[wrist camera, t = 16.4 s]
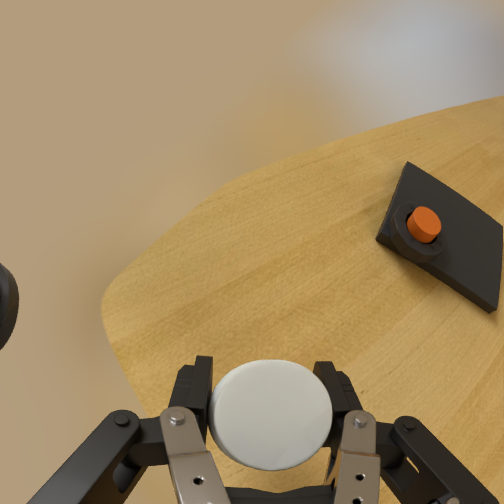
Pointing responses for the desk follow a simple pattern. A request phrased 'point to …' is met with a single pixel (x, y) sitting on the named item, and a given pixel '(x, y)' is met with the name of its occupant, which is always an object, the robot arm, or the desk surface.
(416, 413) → the desk surface
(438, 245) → the black flat block
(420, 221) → the button
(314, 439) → the pill bottle
